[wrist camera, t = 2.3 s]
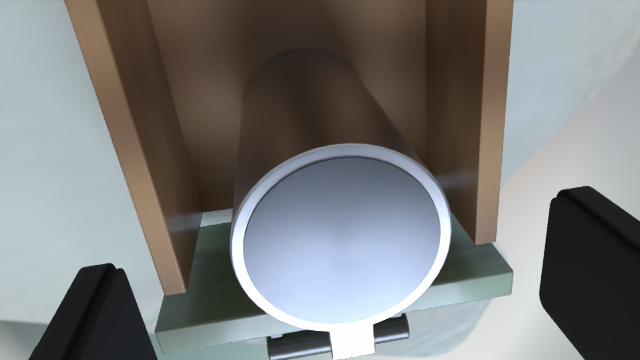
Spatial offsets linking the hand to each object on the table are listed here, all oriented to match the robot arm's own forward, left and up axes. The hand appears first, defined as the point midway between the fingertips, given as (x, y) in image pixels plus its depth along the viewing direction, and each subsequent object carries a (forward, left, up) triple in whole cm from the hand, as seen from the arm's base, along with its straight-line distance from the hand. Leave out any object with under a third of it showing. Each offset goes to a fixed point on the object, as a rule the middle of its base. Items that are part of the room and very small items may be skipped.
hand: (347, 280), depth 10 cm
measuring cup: (0, 0, -11) cm, 11 cm away
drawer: (+1, 0, -12) cm, 12 cm away
